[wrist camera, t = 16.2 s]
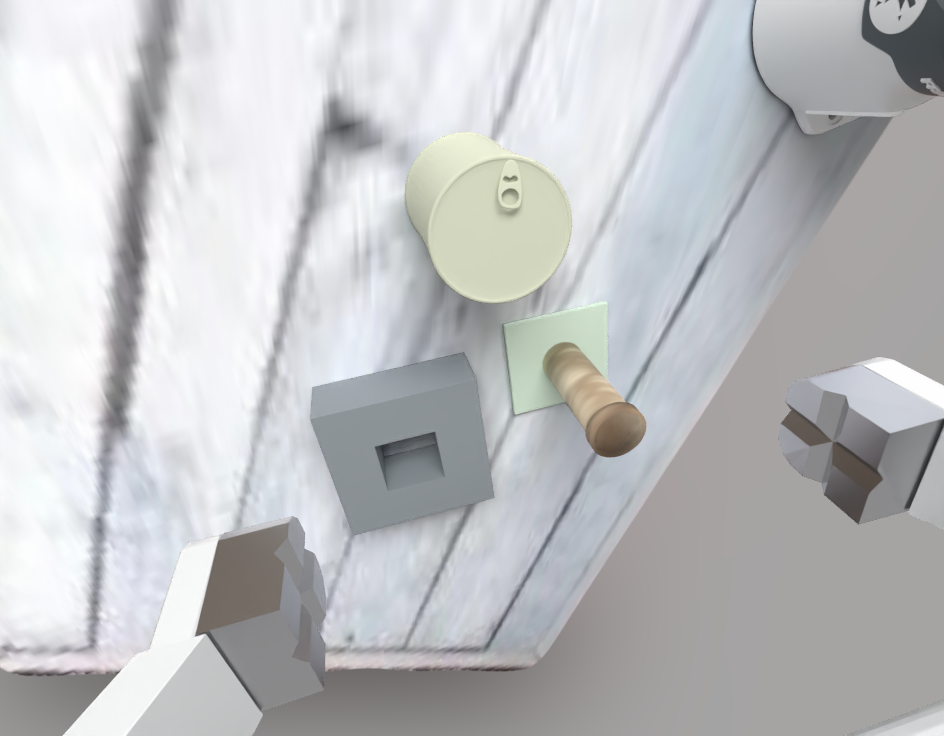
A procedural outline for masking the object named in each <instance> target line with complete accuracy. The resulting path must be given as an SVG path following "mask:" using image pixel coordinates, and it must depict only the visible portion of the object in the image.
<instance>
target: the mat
mask: <svg viewBox="0 0 944 736" xmlns="http://www.w3.org/2000/svg"><path fill="white" fill-rule="evenodd" d="M503 328H504V336H505V345H506V354H507V362H508V371H509V380H510V388H511V397H512V405H513V412H514V414H515V415H516V414H520V413H524V412H528V411H532V410H536V409H540V408H544V407H548V406H552V405H556V404H560V403H564V402H565V401H564V399H563V398H562V396H561V395H560V393H559V392H558V390H557V389H556V388H555V386H554V385H553V383H552V382H551V380H550V379H549V377H548V376H547V374H546V373H545V371H544V369H543V358H544V356H545V354H546V353H547V351H548V350H549V349H550V348H551V347H553V346H554V345H556V344H558V343H562V342H570V343H573V344H575V345H577V346H578V347H579V349H580V350H581V351H582V352H583V353H584V354H585V355H586V357H587V358H588V359H589V360H590V361H591V362H592V364H593V365H594V366H595V367H596V368H597V369H598V370H599V372H600V373H601V374H602V375H603V376H604V377H605V379H606V380H607V381H608V303H607V302H606V301H603V302H599V303H594V304H590V305H585V306H581V307H576V308H572V309H568V310H563V311H559V312H554V313H550V314H545V315H541V316H537V317H532V318H528V319H523V320H519V321H514V322H510V323H506V324H503Z"/></svg>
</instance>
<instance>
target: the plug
mask: <svg viewBox="0 0 944 736" xmlns="http://www.w3.org/2000/svg"><path fill="white" fill-rule="evenodd" d="M543 369H544V371H545V373H546V374H547V376H548V377H549V379H550V380H551V382H552V383H553V385H554V386H555V388H556V389H557V390H558V392H559V393H560V395H561V396H562V398H563V399H564V401H565V402H566V404H567V405H568V406H569V408H570V409H571V411H572V412H573V414H574V415H575V417H576V418H577V420H578V421H579V422H580V424H581V425H582V427H583V428H584V430H585V431H586V438H587V441H588V442H589V444H590V445H591V447H592V448H593V450H594V451H595V452H596V453H597V454H599V455H601V456H604V457H617V456H621V455H623V454H626V453H627V452H629V451H631V450H632V449H633V448H635V447H636V446H637V445H638V444H639V442H640V441H641V440H642V438H643V436H644V434H645V431H646V421H645V418H644V416H643V415H642V414H641V413H640V412H639V411H638V409H637V408H636V407H635V406H633V405H632V404H630V403H627V402H625V400H624V399H623V398H622V397H621V396H620V395H619V393H618V392H617V391H616V390H615V389H614V388H613V387H612V385H611V384H610V383H609V382H608V381H607V380H606V379H605V377H604V376H603V375H602V374H601V373H600V372H599V370H598V369H597V368H596V367H595V366H594V365H593V364H592V362H591V361H590V360H589V359H588V358H587V357H586V355H585V354H584V353H583V352H582V351H581V350H580V349H579V347H578V346H577V345H575V344H573V343H570V342H562V343H558V344H556V345H554V346H553V347H551V348H550V349H549V350H548V351H547V353H546V354H545V356H544V358H543Z"/></svg>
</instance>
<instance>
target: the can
mask: <svg viewBox="0 0 944 736" xmlns="http://www.w3.org/2000/svg"><path fill="white" fill-rule="evenodd" d="M405 199H406V207H407V211H408V214H409V217H410V220H411V222H412V224H413V225H414V227H415V229H416V230H417V231H418V233H419V234H420V235H421V236H422V238H423V240H424V242H425V244H426V246H427V249H428V251H429V253H430V257H431V260H432V263H433V265H434V267H435V269H436V271H437V273H438V274H439V275H440V277H441V278H442V280H443V281H444V282H445V283H446V284H447V285H448V286H449V287H450V288H451V289H453V290H454V291H455V292H457V293H458V294H460V295H462V296H464V297H466V298H468V299H471V300H473V301H477V302H481V303H490V304H497V303H505V302H510V301H514V300H517V299H520V298H522V297H525V296H527V295H528V294H530V293H532V292H534V291H535V290H537V289H538V288H539V287H541V286H542V285H543V284H544V283H545V282H546V281H547V280H548V279H549V278H550V277H551V276H552V275H553V274H554V272H555V271H556V270H557V268H558V267H559V265H560V263H561V262H562V260H563V258H564V256H565V254H566V251H567V248H568V245H569V241H570V237H571V230H572V216H571V209H570V204H569V201H568V198H567V195H566V193H565V191H564V189H563V187H562V185H561V184H560V182H559V181H558V179H557V178H556V177H555V176H554V175H553V174H552V173H551V172H550V171H549V170H548V169H547V168H546V167H544V166H543V165H541V164H540V163H538V162H537V161H534V160H532V159H530V158H527V157H524V156H520V155H517V154H515V153H513V152H510V151H508V150H506V149H504V148H502V147H501V146H500V145H499V144H497V143H496V142H495V141H493V140H492V139H490V138H488V137H486V136H483V135H480V134H476V133H470V132H459V133H453V134H449V135H446V136H443V137H441V138H439V139H437V140H435V141H434V142H432V143H431V144H430V145H428V146H427V147H426V148H425V149H424V150H423V151H422V152H421V153H420V154H419V156H418V157H417V158H416V160H415V162H414V163H413V165H412V167H411V169H410V172H409V175H408V178H407V183H406V190H405Z"/></svg>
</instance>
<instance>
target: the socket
mask: <svg viewBox="0 0 944 736" xmlns="http://www.w3.org/2000/svg"><path fill="white" fill-rule="evenodd" d="M310 420H311V423H312V425H313V428H314V431H315V433H316V436H317V439H318V442H319V444H320V447H321V450H322V452H323V455H324V458H325V460H326V463H327V466H328V468H329V471H330V474H331V477H332V479H333V482H334V485H335V487H336V490H337V493H338V495H339V498H340V501H341V503H342V506H343V509H344V512H345V514H346V517H347V520H348V522H349V525H350V528H351V530H352V533H353V535H357V534H361V533H365V532H368V531H372V530H376V529H380V528H383V527H387V526H391V525H395V524H398V523H402V522H406V521H410V520H413V519H417V518H421V517H425V516H428V515H432V514H436V513H440V512H443V511H447V510H451V509H455V508H458V507H462V506H466V505H470V504H473V503H477V502H481V501H485V500H488V499H492V498H494V492H493V485H492V479H491V473H490V466H489V460H488V453H487V447H486V440H485V434H484V428H483V421H482V415H481V408H480V402H479V396H478V389H477V383H476V379H475V376H474V374H473V372H472V370H471V367H470V365H469V363H468V361H467V358H466V356H465V354H464V353H460V354H455V355H451V356H447V357H442V358H438V359H434V360H429V361H425V362H421V363H416V364H412V365H408V366H403V367H399V368H395V369H390V370H386V371H382V372H377V373H373V374H369V375H364V376H360V377H356V378H351V379H347V380H343V381H338V382H334V383H330V384H325V385H321V386H317V387H313V389H312V402H311V415H310ZM432 432H434V435H435V440H436V444H435V445H431V446H427V447H423V448H419V449H415V450H411V451H407V452H403V453H399V454H395V455H391V456H387V457H384V456H383V453H382V449H381V446H380V445H383V444H387V443H391V442H395V441H399V440H404V439H408V438H412V437H416V436H420V435H424V434H428V433H432Z"/></svg>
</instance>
